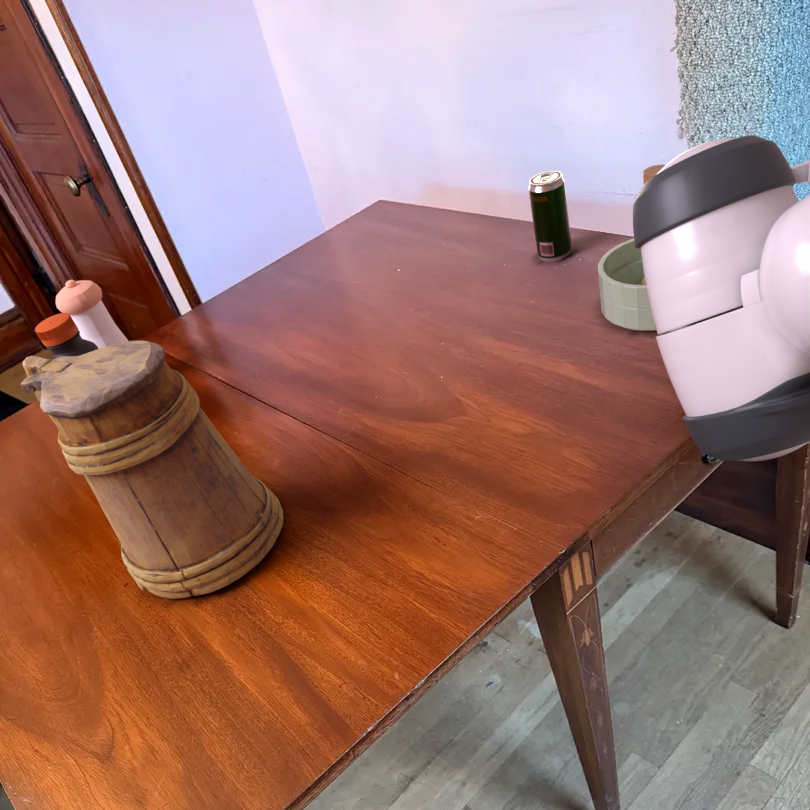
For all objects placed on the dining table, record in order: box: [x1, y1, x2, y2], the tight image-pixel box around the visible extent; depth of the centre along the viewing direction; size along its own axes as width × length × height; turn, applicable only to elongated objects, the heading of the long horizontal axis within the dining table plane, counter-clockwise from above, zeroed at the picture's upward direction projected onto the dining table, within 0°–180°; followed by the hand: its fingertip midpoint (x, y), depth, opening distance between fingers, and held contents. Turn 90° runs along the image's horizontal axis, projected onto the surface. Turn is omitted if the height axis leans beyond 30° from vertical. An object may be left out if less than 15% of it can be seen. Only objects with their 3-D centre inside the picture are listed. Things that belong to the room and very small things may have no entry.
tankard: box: [20, 340, 285, 600], centre depth 81 cm, size 18×24×25 cm
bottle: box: [34, 312, 99, 360], centre depth 105 cm, size 7×7×20 cm
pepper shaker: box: [55, 279, 129, 349], centre depth 118 cm, size 7×7×19 cm
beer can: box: [528, 170, 573, 263], centre depth 115 cm, size 5×5×12 cm
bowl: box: [597, 237, 657, 332], centre depth 99 cm, size 15×15×6 cm
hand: (768, 196), depth 85 cm, fingers open, 8 cm apart
